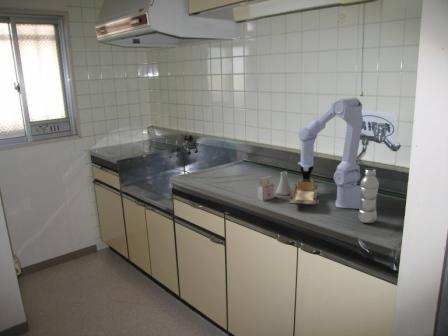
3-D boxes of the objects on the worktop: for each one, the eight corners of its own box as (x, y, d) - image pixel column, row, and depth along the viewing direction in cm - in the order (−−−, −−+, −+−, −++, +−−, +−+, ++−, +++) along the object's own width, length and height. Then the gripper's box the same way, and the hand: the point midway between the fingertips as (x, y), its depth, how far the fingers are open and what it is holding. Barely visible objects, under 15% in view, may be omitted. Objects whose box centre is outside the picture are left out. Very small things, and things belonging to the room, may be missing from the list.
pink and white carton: (257, 199, 170) (257, 177, 167) (268, 195, 173) (268, 174, 171) (262, 201, 167) (262, 179, 164) (274, 197, 170) (274, 176, 168)
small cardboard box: (317, 191, 172) (317, 184, 172) (315, 204, 151) (316, 197, 151) (294, 189, 175) (294, 183, 174) (289, 202, 154) (289, 195, 153)
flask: (281, 189, 181) (281, 169, 179) (294, 192, 177) (294, 171, 175) (273, 193, 176) (273, 173, 174) (286, 196, 172) (286, 175, 169)
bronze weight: (312, 187, 172) (312, 179, 171) (312, 191, 166) (312, 182, 165) (299, 187, 173) (299, 178, 173) (298, 190, 168) (298, 181, 167)
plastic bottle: (357, 224, 139) (360, 171, 134) (358, 217, 145) (361, 166, 140) (376, 226, 136) (380, 172, 132) (376, 219, 142) (380, 167, 138)
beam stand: (318, 200, 165) (318, 196, 164) (318, 205, 159) (318, 200, 159) (290, 199, 168) (290, 194, 167) (289, 203, 162) (289, 198, 162)
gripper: (299, 150, 181) (298, 177, 184) (296, 156, 167) (296, 186, 170) (314, 150, 179) (313, 178, 182) (313, 157, 165) (312, 187, 168)
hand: (306, 182), depth 176 cm, fingers closed
